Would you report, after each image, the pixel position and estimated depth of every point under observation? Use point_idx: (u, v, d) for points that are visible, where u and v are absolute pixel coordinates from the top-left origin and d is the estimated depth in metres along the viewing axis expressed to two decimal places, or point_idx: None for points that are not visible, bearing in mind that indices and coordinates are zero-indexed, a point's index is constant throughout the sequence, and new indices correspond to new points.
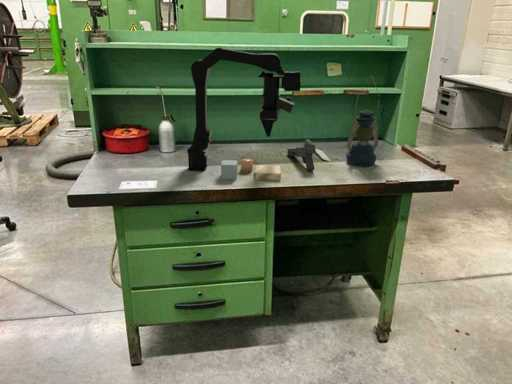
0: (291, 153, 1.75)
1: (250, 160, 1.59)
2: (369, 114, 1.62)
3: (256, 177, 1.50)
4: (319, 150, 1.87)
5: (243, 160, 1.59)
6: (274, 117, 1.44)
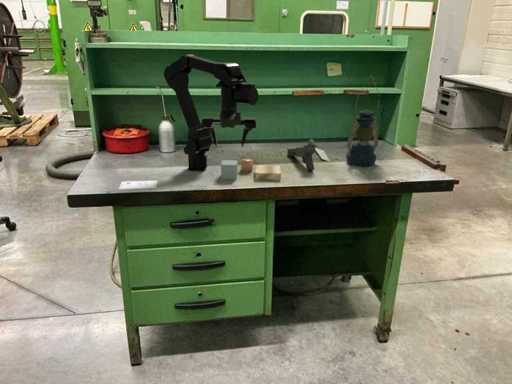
0: (291, 153, 1.75)
1: (250, 160, 1.59)
2: (369, 114, 1.62)
3: (256, 177, 1.50)
4: (321, 150, 1.87)
5: (243, 160, 1.59)
6: None
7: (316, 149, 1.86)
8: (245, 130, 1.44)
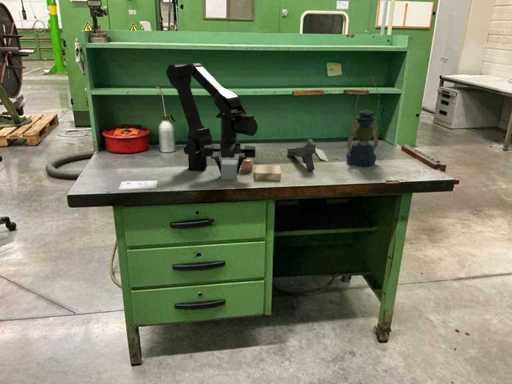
0: (291, 153, 1.75)
1: (250, 160, 1.59)
2: (369, 114, 1.62)
3: (256, 177, 1.50)
4: (319, 150, 1.87)
5: (243, 160, 1.59)
6: (202, 153, 1.48)
7: None
8: (240, 159, 1.48)
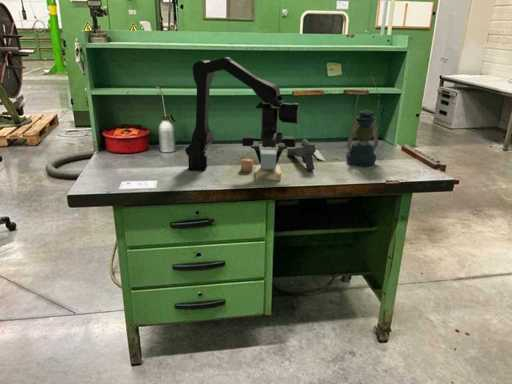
0: (291, 153, 1.75)
1: (250, 160, 1.59)
2: (369, 114, 1.62)
3: (256, 177, 1.50)
4: None
5: (243, 160, 1.59)
6: (242, 143, 1.48)
7: None
8: (280, 149, 1.48)
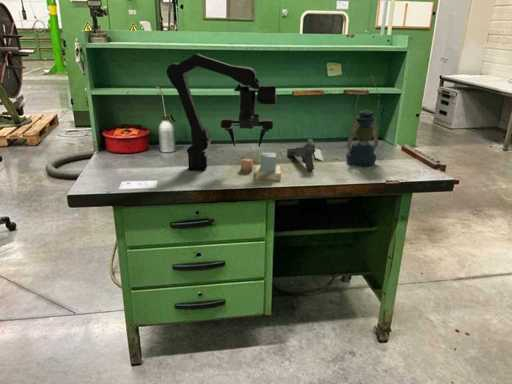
0: (291, 153, 1.75)
1: (250, 160, 1.59)
2: (369, 114, 1.62)
3: (256, 177, 1.50)
4: (317, 150, 1.88)
5: (243, 160, 1.59)
6: (221, 125, 1.52)
7: None
8: (262, 131, 1.52)
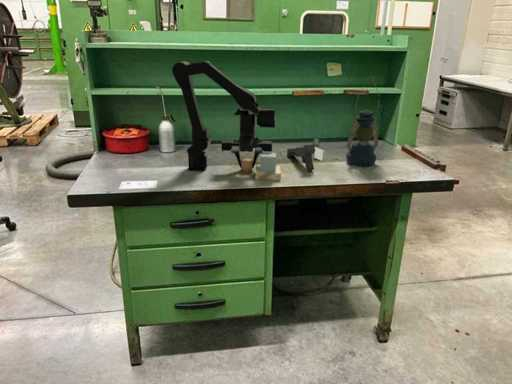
0: (291, 153, 1.75)
1: (250, 160, 1.59)
2: (369, 114, 1.62)
3: (256, 177, 1.50)
4: (320, 150, 1.88)
5: (243, 160, 1.59)
6: None
7: (315, 148, 1.87)
8: (256, 153, 1.55)
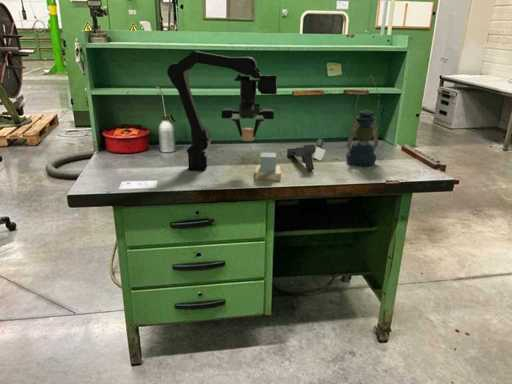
0: (291, 153, 1.76)
1: (251, 129, 1.54)
2: (369, 114, 1.62)
3: (256, 177, 1.50)
4: (322, 150, 1.88)
5: (244, 129, 1.55)
6: None
7: (317, 148, 1.87)
8: (257, 121, 1.51)
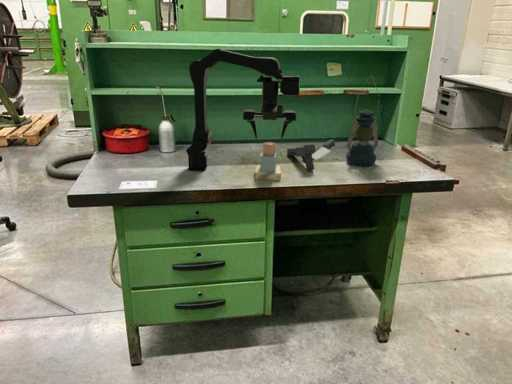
0: (291, 153, 1.76)
1: (272, 144, 1.50)
2: (369, 114, 1.62)
3: (256, 177, 1.50)
4: (327, 150, 1.87)
5: (265, 144, 1.50)
6: (243, 117, 1.49)
7: (321, 148, 1.87)
8: (285, 123, 1.49)
